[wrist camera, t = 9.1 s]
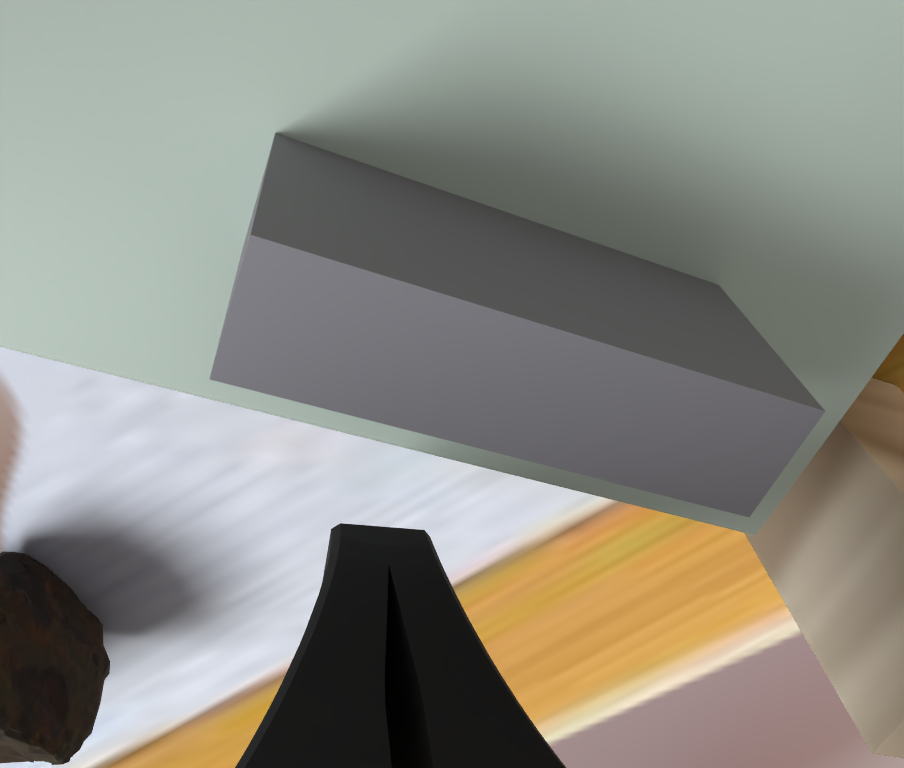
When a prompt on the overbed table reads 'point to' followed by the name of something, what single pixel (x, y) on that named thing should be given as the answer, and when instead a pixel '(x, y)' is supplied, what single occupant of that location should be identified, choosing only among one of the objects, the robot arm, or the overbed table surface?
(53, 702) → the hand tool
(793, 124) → the lid
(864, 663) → the block
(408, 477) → the overbed table surface
